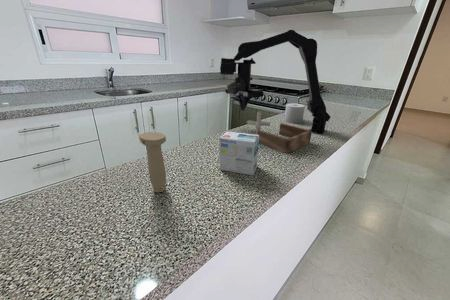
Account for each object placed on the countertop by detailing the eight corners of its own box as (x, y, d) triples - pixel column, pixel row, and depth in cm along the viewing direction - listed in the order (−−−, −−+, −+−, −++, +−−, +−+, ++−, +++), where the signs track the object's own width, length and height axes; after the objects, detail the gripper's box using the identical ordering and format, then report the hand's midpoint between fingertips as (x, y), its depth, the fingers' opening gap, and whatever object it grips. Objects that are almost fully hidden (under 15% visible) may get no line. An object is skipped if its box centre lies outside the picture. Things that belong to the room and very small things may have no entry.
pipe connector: (268, 138, 90) (270, 115, 86) (245, 136, 92) (246, 114, 88) (269, 131, 99) (271, 110, 95) (247, 129, 101) (248, 108, 97)
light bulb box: (257, 166, 68) (260, 134, 63) (253, 176, 62) (255, 142, 57) (226, 161, 71) (226, 130, 66) (219, 170, 65) (218, 137, 61)
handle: (160, 199, 52) (152, 141, 46) (144, 190, 55) (134, 136, 49) (175, 189, 55) (169, 135, 49) (159, 182, 59) (151, 130, 53)
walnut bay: (280, 133, 96) (281, 123, 94) (309, 142, 86) (311, 130, 84) (256, 142, 86) (257, 130, 84) (286, 153, 76) (288, 140, 74)
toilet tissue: (295, 116, 123) (297, 102, 120) (304, 123, 111) (307, 107, 108) (280, 117, 123) (282, 102, 119) (288, 123, 111) (290, 107, 107)
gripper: (216, 74, 94) (216, 109, 100) (247, 77, 81) (245, 117, 87) (234, 73, 101) (233, 106, 107) (265, 76, 88) (262, 113, 94)
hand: (242, 110), depth 99 cm, fingers closed
